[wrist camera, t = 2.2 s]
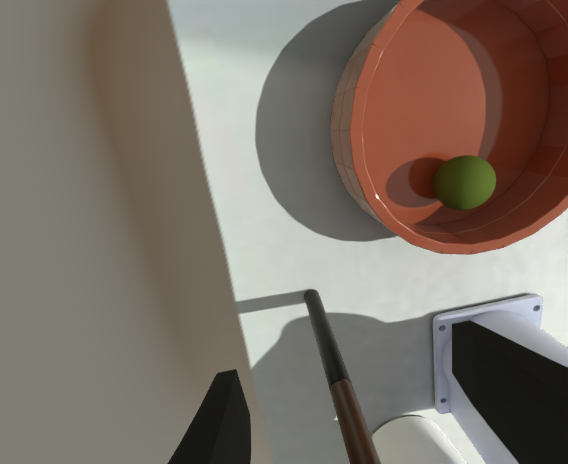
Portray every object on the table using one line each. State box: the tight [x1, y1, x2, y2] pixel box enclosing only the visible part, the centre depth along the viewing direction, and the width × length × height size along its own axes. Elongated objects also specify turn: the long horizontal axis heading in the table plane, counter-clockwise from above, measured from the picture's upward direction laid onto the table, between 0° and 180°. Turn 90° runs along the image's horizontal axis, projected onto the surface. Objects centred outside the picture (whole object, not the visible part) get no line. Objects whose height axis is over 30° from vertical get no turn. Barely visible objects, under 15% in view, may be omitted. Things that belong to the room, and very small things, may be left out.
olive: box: [433, 155, 496, 210], centre depth 17 cm, size 3×3×3 cm
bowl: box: [330, 0, 568, 255], centre depth 15 cm, size 13×13×4 cm
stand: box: [304, 290, 352, 390], centre depth 17 cm, size 1×1×8 cm
